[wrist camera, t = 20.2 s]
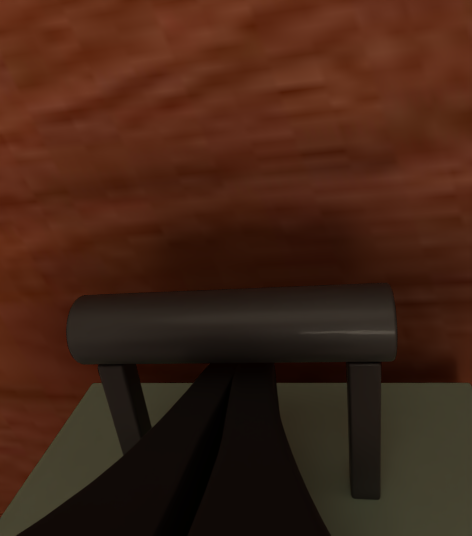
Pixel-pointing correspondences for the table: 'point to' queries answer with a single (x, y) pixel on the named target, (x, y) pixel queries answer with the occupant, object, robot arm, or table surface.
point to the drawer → (289, 397)
